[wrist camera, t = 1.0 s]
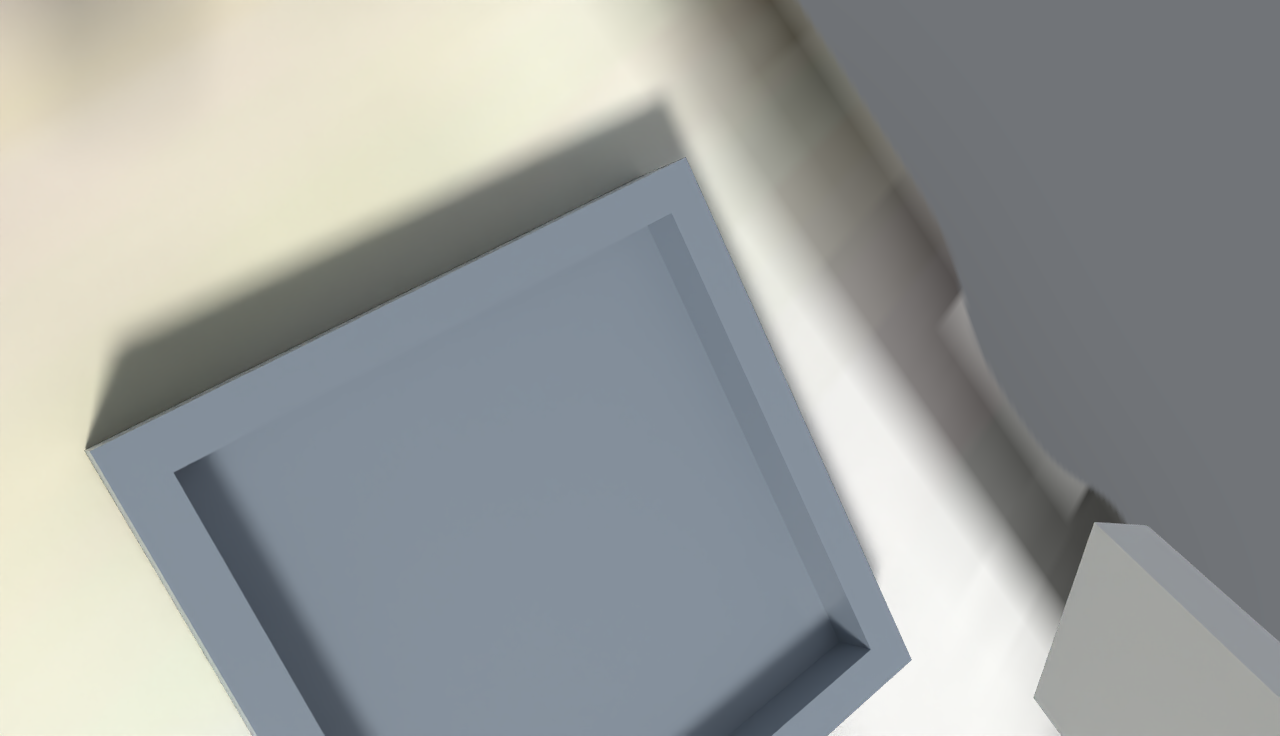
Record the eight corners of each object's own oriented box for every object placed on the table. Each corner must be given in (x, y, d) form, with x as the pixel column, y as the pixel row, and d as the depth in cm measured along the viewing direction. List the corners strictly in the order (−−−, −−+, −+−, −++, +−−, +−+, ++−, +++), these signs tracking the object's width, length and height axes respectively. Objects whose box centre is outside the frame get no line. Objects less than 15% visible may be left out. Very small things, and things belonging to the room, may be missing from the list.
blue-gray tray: (84, 449, 21) (89, 451, 19) (643, 175, 27) (685, 157, 25) (422, 1023, 23) (454, 1070, 21) (859, 646, 30) (911, 659, 28)
